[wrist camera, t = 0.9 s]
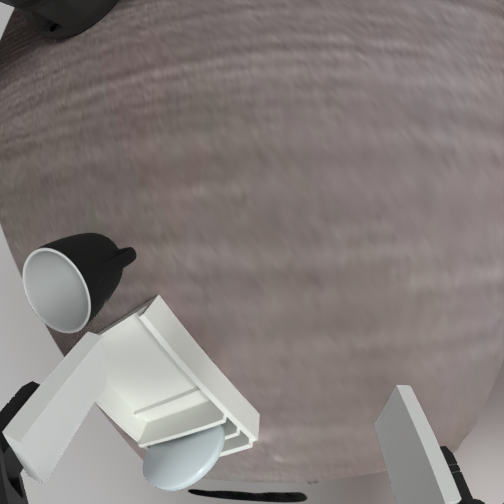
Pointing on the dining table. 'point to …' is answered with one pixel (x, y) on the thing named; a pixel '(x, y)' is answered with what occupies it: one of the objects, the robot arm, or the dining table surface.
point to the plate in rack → (183, 458)
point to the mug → (73, 279)
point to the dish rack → (169, 383)
